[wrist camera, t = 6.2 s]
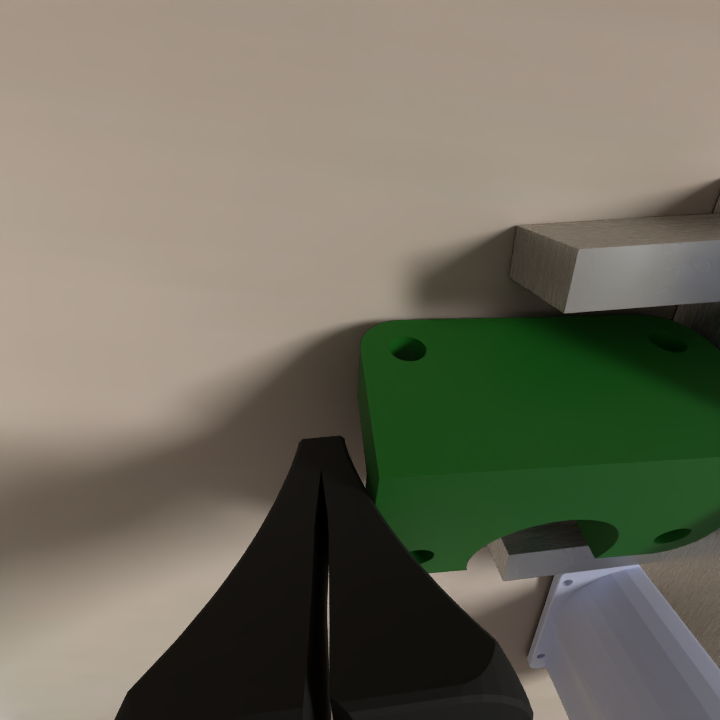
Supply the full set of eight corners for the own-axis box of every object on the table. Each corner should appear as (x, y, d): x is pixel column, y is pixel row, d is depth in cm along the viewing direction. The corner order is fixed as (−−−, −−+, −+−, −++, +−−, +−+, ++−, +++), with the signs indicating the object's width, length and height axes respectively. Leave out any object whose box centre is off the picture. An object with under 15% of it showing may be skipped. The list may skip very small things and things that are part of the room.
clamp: (385, 375, 18) (313, 560, 12) (399, 266, 14) (303, 454, 8) (654, 444, 16) (733, 713, 10) (755, 335, 12) (987, 665, 6)
